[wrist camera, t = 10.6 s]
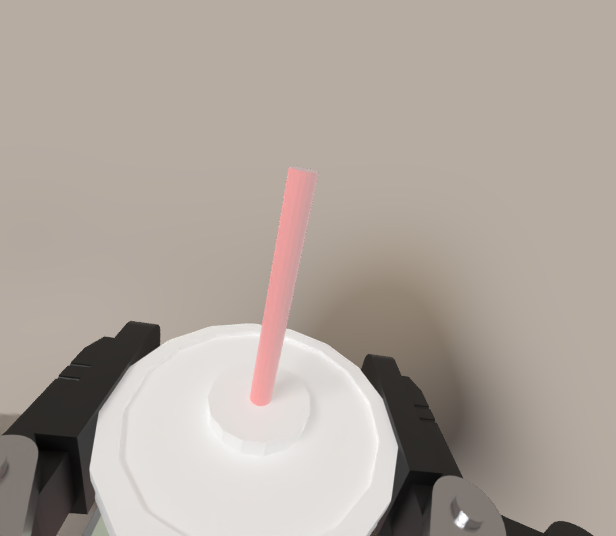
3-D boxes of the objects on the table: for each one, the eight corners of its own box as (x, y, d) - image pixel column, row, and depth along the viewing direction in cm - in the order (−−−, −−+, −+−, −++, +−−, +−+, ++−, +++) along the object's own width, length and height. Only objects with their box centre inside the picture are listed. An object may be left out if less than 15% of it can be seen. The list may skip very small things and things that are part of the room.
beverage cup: (223, 473, 14) (271, 144, 9) (343, 580, 12) (518, 208, 6) (67, 634, 9) (-48, 104, 4) (216, 884, 7) (544, 358, 1)
